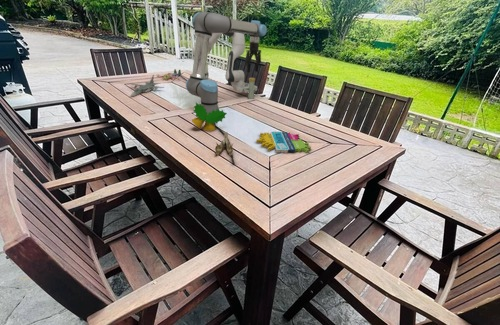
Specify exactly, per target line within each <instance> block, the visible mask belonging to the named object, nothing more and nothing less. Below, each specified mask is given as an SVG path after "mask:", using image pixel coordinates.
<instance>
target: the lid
mask: <svg viewBox="0 0 500 325" xmlns="http://www.w3.org/2000/svg"><path fill="white" fill-rule="evenodd" d="M249 81H251V82H254V81H255V82H256V78H255V77H249V78H248V82H249Z"/></svg>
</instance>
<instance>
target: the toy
mask: <svg viewBox="0 0 500 325" xmlns="http://www.w3.org/2000/svg"><path fill="white" fill-rule="evenodd" d="M179 75H180V76H182V73H181V69H178V72H177V69H176V68H174V70H173V72H168V73H166V74H164V75H160V74H156V75H155V76H156V78H162V80H164V81H168V80H169V79H173V80H175V79H176V80H178V81H180V79H181V77H180V76H179ZM176 76H177V77H176Z"/></svg>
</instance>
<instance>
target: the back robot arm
mask: <svg viewBox="0 0 500 325" xmlns="http://www.w3.org/2000/svg"><path fill="white" fill-rule="evenodd" d="M222 35H224V36H227V37H229V38H231V42H232V43H231V44H232V47H231V50H230V51H229V53H228V57H227V66H226V71H225V74H224V75H225V80H226V81H227V82H228V83H230V85H231V88H233V89H234V90H235V91H236V92H237V93H241V94H242V93H245V94H246V93H248V92H249V82H245V81H246V73H245V72H244V70H242V69H235V70H234V62H235V60H236V59H237V58H239V57H241V56H242V55H244V53H245V52H246V38H245V34H241V33H235V32H229V33H212V37H211V38H210V39H209V45H208V53H207V56H209V54H210V53H211V51H212V49H213V48H214V45H215V44H216V43H217V42H218V40H219V39H220V37H221V36H222ZM195 46H196V44H195V45H194V46H193V48H192V51H191V52H192V55H193V56H194V55H195ZM205 76H206V78H207V80H209V78H210V77H209V64H208V61H206V70H205ZM178 77H179V78H182V79H183V80H185V81H187V79H186V78H185V77H183V76H182V75H179V76H178ZM257 91H258V86H257V85H255V84H254V93H255V92H257Z"/></svg>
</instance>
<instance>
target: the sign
mask: <svg viewBox="0 0 500 325" xmlns="http://www.w3.org/2000/svg"><path fill="white" fill-rule="evenodd" d="M299 136H300V135H299V134H298V133H296V134H294V133H291V132H287V131H270V132H264V133H263V132H260V133H259V139H258V138H257V139H256V143H257V144H261V148H263V147H264V148H265V149H267V151H268V152H271V151H272V150H273V149H275V152H276V153H283V154H285V153H287V154H288V153H290V154H293V153H296V152H298V153H301V152H305V153H310V151H311V150H312V149H311V148H312V146H309V142H304V141H303V139H302V138H299Z"/></svg>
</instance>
